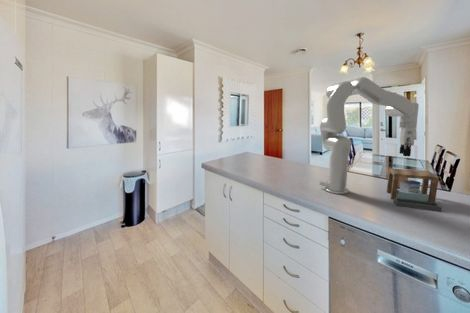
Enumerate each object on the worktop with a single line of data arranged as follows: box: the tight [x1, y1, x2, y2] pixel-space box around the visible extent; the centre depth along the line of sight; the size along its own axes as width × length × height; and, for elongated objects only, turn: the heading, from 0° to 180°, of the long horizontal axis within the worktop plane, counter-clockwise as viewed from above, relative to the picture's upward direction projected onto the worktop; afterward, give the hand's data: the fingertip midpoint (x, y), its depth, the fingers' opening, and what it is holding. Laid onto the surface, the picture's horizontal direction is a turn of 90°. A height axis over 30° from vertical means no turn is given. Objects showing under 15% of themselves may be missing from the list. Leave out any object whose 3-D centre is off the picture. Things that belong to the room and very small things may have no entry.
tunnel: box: [386, 167, 440, 203], centre depth 110 cm, size 17×13×14 cm
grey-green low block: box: [396, 177, 429, 202], centre depth 116 cm, size 12×25×7 cm, turn 154°
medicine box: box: [399, 179, 421, 193], centre depth 111 cm, size 8×4×9 cm, turn 105°
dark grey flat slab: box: [393, 198, 442, 212], centre depth 101 cm, size 16×6×2 cm, turn 64°
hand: (404, 154), depth 125 cm, fingers open, 9 cm apart
